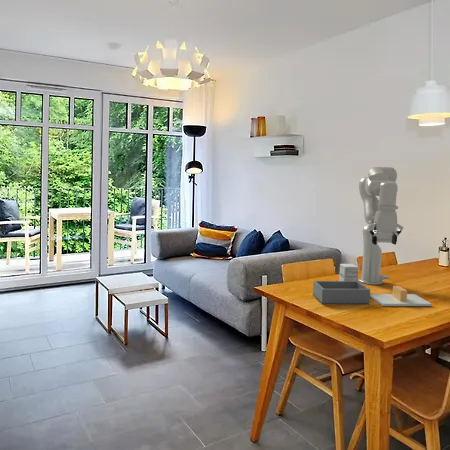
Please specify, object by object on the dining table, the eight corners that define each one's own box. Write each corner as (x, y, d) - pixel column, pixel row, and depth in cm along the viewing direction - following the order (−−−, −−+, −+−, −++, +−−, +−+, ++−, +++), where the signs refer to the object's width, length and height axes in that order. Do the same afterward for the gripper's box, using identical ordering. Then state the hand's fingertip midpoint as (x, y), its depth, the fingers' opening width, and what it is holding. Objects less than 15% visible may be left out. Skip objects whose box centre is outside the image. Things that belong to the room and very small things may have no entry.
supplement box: (338, 287, 230) (339, 263, 229) (352, 287, 231) (353, 263, 229) (343, 291, 223) (344, 266, 221) (357, 291, 223) (359, 266, 222)
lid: (414, 297, 216) (415, 284, 215) (431, 307, 200) (432, 292, 200) (368, 297, 214) (369, 283, 213) (382, 307, 199) (383, 292, 198)
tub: (357, 295, 216) (358, 281, 216) (369, 304, 202) (370, 289, 201) (312, 295, 215) (313, 280, 214) (321, 304, 200) (322, 289, 199)
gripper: (400, 207, 214) (397, 242, 217) (365, 207, 212) (363, 242, 215) (408, 209, 207) (405, 245, 209) (372, 209, 205) (370, 245, 208)
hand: (384, 244), depth 212 cm, fingers open, 9 cm apart
